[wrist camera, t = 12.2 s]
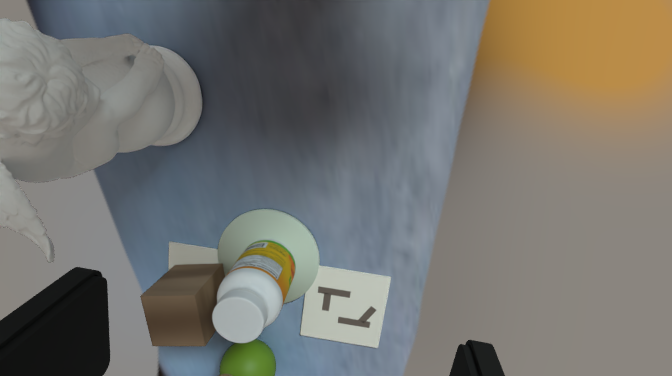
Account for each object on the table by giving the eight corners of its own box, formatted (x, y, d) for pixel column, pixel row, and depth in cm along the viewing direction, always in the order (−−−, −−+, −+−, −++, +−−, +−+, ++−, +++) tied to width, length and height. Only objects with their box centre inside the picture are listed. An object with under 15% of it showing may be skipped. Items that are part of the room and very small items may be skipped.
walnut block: (175, 264, 41) (140, 296, 36) (222, 263, 40) (194, 295, 35) (184, 308, 43) (152, 345, 37) (230, 308, 42) (205, 346, 36)
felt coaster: (221, 201, 39) (220, 202, 39) (325, 217, 39) (325, 218, 38) (216, 293, 42) (215, 295, 42) (313, 309, 41) (312, 312, 41)
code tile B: (169, 241, 41) (169, 242, 41) (248, 254, 40) (248, 254, 40) (168, 311, 43) (167, 312, 43) (243, 324, 43) (242, 325, 42)
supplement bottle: (281, 296, 41) (253, 363, 32) (233, 270, 41) (191, 330, 31) (306, 254, 39) (285, 311, 30) (257, 227, 39) (220, 276, 30)
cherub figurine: (195, 28, 35) (-73, -38, 14) (246, 164, 38) (86, 280, 17) (74, 71, 37) (-321, 72, 16) (131, 198, 40) (-140, 340, 19)
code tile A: (309, 263, 40) (308, 264, 40) (390, 276, 40) (391, 277, 40) (300, 333, 42) (300, 335, 42) (377, 346, 42) (377, 348, 42)
